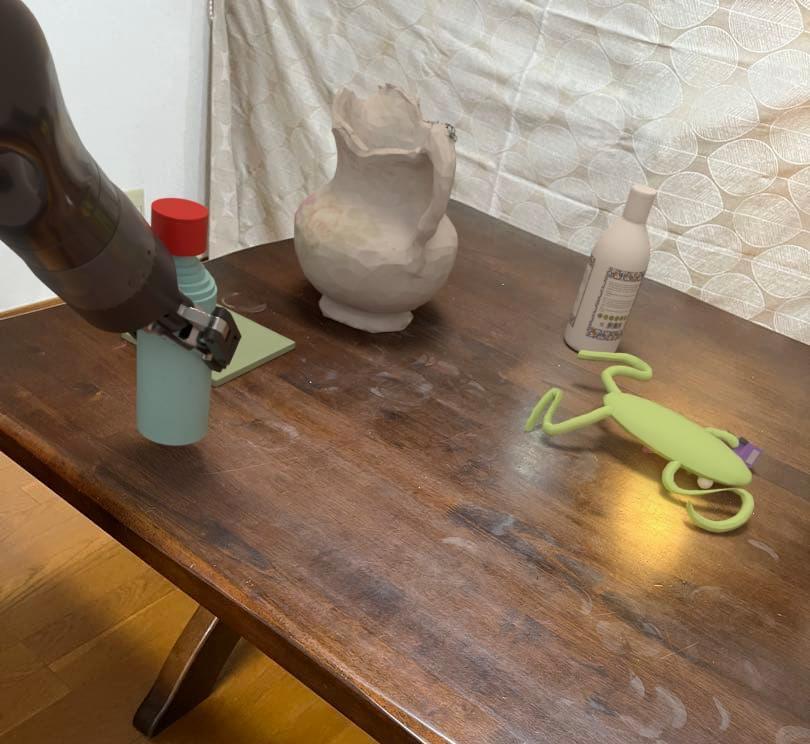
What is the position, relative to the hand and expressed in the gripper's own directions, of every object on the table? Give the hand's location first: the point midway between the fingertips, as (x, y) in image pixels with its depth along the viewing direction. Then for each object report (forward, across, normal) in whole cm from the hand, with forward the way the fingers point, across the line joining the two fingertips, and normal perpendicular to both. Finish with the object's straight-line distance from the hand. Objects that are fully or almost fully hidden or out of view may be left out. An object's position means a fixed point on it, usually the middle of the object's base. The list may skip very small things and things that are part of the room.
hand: (185, 347), depth 72 cm
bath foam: (+42, -30, -28) cm, 58 cm away
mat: (+20, +7, -6) cm, 22 cm away
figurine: (+26, -40, -12) cm, 49 cm away
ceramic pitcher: (+34, -4, -20) cm, 39 cm away
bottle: (+4, 0, +6) cm, 7 cm away
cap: (-8, 0, -5) cm, 9 cm away
